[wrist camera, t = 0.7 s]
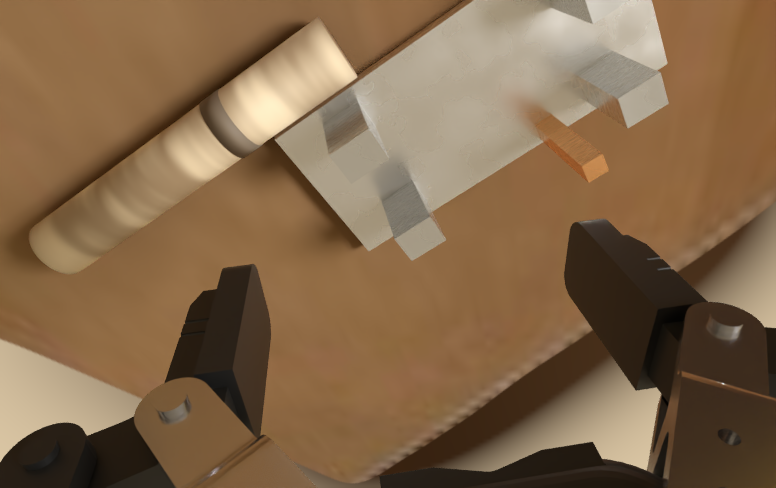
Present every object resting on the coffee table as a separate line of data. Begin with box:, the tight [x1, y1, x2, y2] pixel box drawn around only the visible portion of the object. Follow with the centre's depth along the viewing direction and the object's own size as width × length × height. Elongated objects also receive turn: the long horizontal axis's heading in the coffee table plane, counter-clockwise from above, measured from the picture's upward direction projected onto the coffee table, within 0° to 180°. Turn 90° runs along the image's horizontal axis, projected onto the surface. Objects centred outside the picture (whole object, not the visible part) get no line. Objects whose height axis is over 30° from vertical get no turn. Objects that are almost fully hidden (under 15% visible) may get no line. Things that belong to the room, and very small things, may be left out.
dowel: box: [29, 17, 357, 274], centre depth 28 cm, size 20×4×4 cm, turn 122°
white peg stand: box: [275, 0, 669, 261], centre depth 28 cm, size 10×22×7 cm, turn 122°
